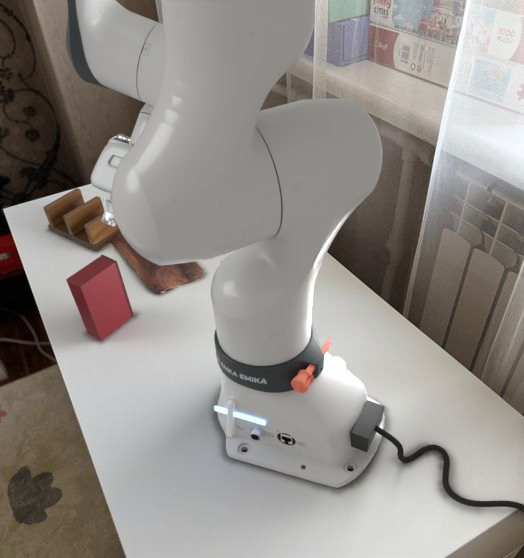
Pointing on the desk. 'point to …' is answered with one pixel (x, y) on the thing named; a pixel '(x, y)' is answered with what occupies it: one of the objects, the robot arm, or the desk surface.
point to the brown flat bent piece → (158, 269)
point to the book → (100, 297)
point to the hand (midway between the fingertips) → (128, 233)
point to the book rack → (80, 220)
